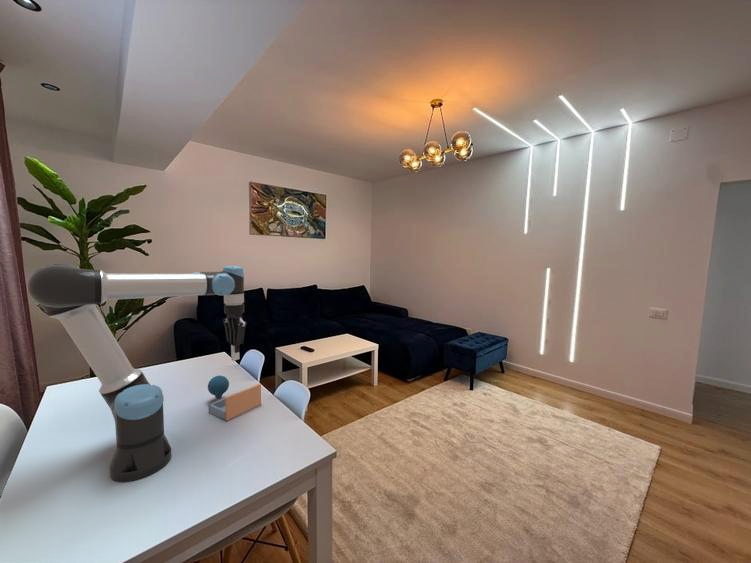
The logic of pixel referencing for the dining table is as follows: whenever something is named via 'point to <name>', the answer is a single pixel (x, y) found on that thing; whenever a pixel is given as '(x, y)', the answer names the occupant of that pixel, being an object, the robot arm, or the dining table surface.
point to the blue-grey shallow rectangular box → (218, 409)
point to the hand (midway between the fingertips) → (235, 359)
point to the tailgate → (242, 402)
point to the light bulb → (218, 386)
